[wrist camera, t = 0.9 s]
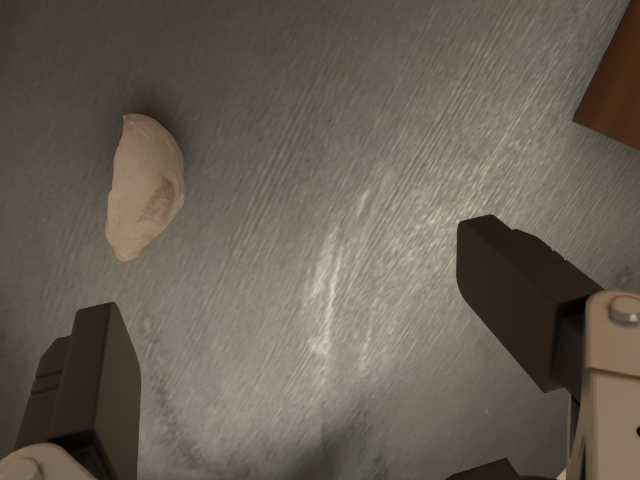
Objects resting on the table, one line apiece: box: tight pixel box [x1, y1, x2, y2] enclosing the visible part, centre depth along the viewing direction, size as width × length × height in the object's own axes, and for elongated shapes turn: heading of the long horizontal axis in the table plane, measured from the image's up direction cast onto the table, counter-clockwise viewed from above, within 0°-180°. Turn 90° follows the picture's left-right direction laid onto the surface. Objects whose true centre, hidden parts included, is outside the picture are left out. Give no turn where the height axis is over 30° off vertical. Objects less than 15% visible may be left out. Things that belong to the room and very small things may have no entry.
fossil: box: [105, 113, 185, 262], centre depth 26 cm, size 6×4×10 cm, turn 169°
